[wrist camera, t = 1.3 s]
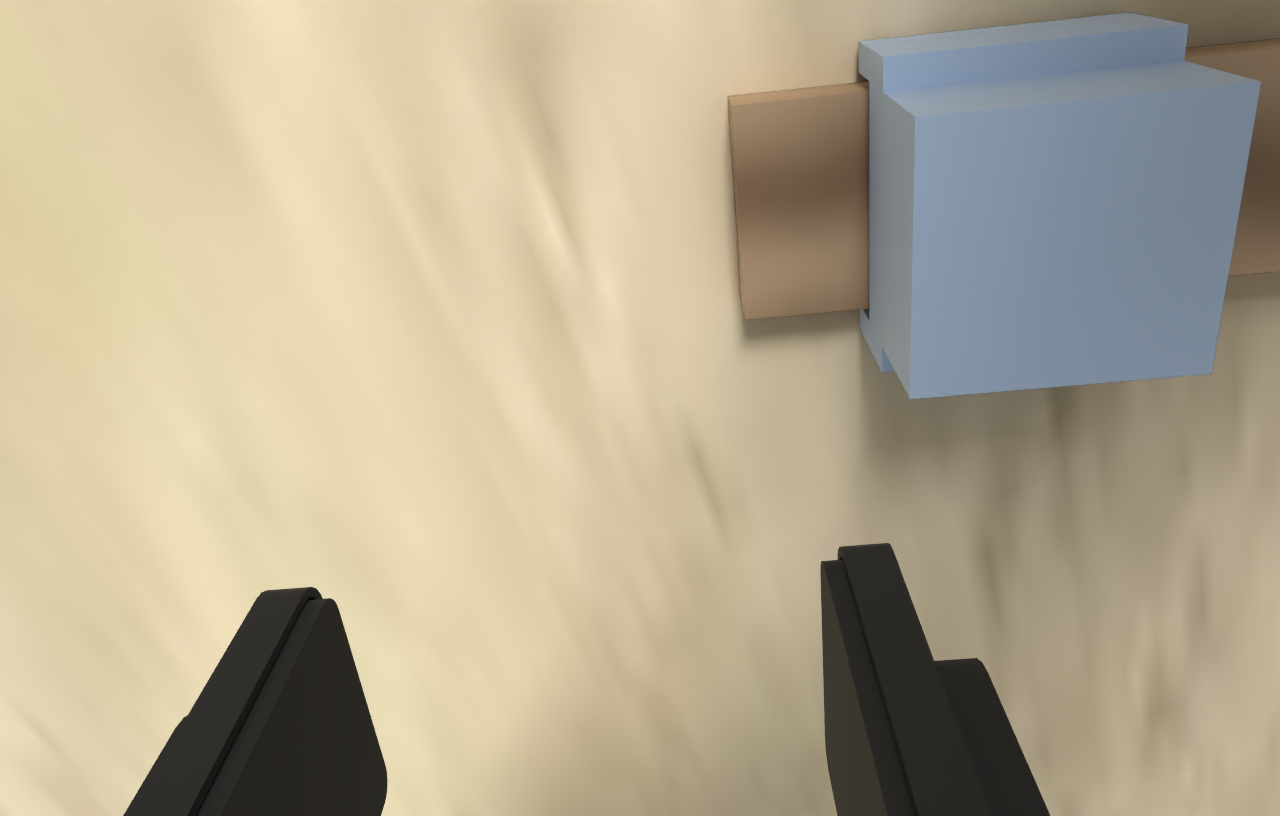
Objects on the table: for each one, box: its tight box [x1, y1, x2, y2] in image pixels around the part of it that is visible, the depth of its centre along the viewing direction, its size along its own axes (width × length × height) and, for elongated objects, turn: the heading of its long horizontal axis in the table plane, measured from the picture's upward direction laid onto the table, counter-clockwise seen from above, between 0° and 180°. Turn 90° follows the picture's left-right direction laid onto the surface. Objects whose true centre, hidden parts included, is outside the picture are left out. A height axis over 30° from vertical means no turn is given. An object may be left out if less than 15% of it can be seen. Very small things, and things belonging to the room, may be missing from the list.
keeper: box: [859, 12, 1261, 399], centre depth 25 cm, size 8×7×6 cm
